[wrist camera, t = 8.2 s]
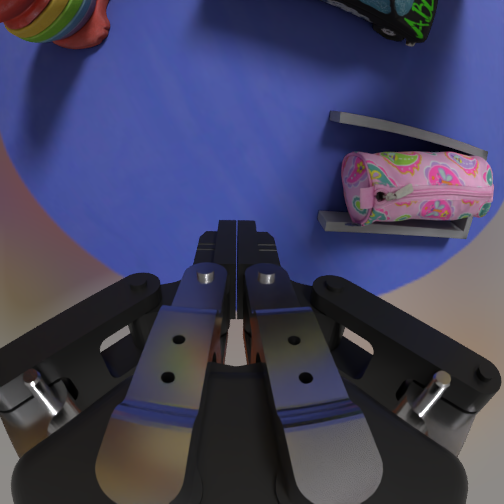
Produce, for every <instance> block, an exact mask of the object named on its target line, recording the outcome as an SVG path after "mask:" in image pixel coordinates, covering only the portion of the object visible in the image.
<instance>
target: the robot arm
mask: <svg viewBox="0 0 504 504" xmlns="http://www.w3.org/2000/svg"><path fill="white" fill-rule="evenodd" d="M235 309H236V220H219V224H218V231H206V232H205V233H204V234H203V235H201V236H200V239H199V243H198V247H197V251H196V255H195V259H194V263H193V265H192V266H190V267H189V268H187V269H186V270H185V272H184V275H183V277H182V280H180V281H177V282H173V283H168V284H162V285H160V280H159V278H158V277H157V276H155V275H153V274H150V273H136V274H132V275H129V276H127V277H125V278H123V279H121V280H120V281H118V282H116V283H114V284H112V285H110V286H108V287H107V288H105V289H103V290H101V291H99V292H97V293H96V294H94V295H92V296H90V297H89V298H87V299H85V300H83V301H81V302H79V303H78V304H76V305H74V306H72V307H71V308H69V309H67V310H65V311H63V312H62V313H60V314H58V315H56V316H55V317H53V318H51V319H49V320H48V321H46V322H44V323H42V324H41V325H39V326H37V327H36V328H34V329H32V330H30V331H29V332H27V333H26V334H24V335H22V336H20V337H19V338H17V339H15V340H14V341H12V342H11V343H9V344H7V345H5V346H4V347H2V348H0V417H1V420H2V422H3V424H4V427H5V429H6V431H7V434H8V436H9V438H10V440H11V442H12V444H13V446H14V448H15V450H16V452H17V454H18V456H19V458H20V459H19V461H18V463H17V464H16V466H15V468H14V471H13V475H12V480H11V491H12V497H13V501H14V504H466V499H467V492H468V481H467V475H466V472H465V469H464V467H463V465H462V463H461V462H460V461H459V459H458V458H457V457H458V455H459V453H460V451H461V449H462V447H463V444H464V442H465V440H466V438H467V435H468V433H469V431H470V428H471V425H472V423H473V421H474V418H475V415H476V414H477V413H478V412H479V411H480V410H481V409H482V408H483V407H484V406H485V405H486V404H487V403H488V401H489V400H490V399H491V398H492V397H493V396H494V395H495V393H496V392H497V391H498V390H499V389H500V386H501V376H500V373H499V371H498V369H497V368H496V367H495V365H494V364H492V363H491V362H490V361H489V360H487V359H485V358H484V357H482V356H480V355H478V354H477V353H475V352H474V351H472V350H470V349H468V348H467V347H465V346H463V345H462V344H459V343H458V342H456V341H455V340H453V339H451V338H449V337H448V336H446V335H444V334H443V333H441V332H439V331H437V330H436V329H434V328H432V327H430V326H429V325H427V324H425V323H423V322H422V321H420V320H418V319H416V318H415V317H413V316H411V315H409V314H407V313H406V312H404V311H402V310H400V309H399V308H397V307H395V306H393V305H392V304H390V303H388V302H386V301H384V300H382V299H381V298H379V297H377V296H375V295H374V294H372V293H370V292H368V291H366V290H365V289H363V288H361V287H359V286H357V285H355V284H354V283H352V282H350V281H348V280H346V279H344V278H342V277H338V276H333V275H326V276H321V277H319V278H317V279H316V280H315V281H314V282H313V286H309V285H304V284H300V283H296V282H294V281H292V280H290V278H289V275H288V273H287V271H286V270H285V269H283V268H282V267H281V265H280V261H279V257H278V253H277V249H276V245H275V241H274V238H273V237H272V236H271V235H270V234H269V233H268V232H256V224H255V221H249V220H238V233H237V319H243V339H244V347H245V354H246V361H247V365H244V366H230V365H225V356H226V348H227V340H228V329H229V325H230V319H235ZM127 325H128V326H129V329H130V334H128V335H127V336H125V337H124V338H122V339H121V340H119V341H118V342H116V343H115V344H113V345H111V346H110V347H108V348H107V349H105V350H104V351H102V352H101V353H100V346H101V344H102V342H103V341H104V340H105V339H106V338H108V337H109V336H111V335H112V334H114V333H115V332H117V331H118V330H120V329H122V328H123V327H125V326H127ZM345 327H346V328H348V329H349V330H351V331H353V332H354V333H356V334H357V335H359V336H361V337H362V338H364V339H365V340H367V341H368V342H369V343H370V344H371V345H372V347H373V350H374V354H373V355H372V354H370V353H369V352H367V351H365V350H364V349H362V348H361V347H359V346H358V345H356V344H355V343H353V342H351V341H350V340H348V339H347V338H345V337H344V336H342V335H343V332H344V329H345Z"/></svg>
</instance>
